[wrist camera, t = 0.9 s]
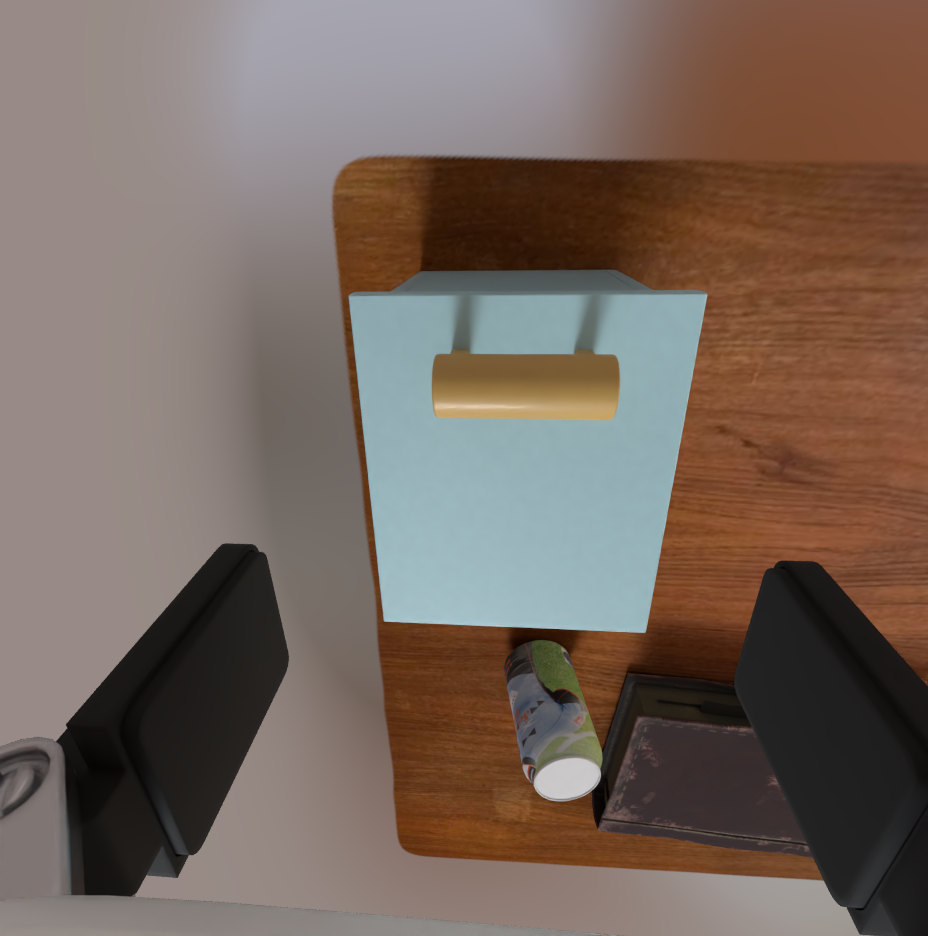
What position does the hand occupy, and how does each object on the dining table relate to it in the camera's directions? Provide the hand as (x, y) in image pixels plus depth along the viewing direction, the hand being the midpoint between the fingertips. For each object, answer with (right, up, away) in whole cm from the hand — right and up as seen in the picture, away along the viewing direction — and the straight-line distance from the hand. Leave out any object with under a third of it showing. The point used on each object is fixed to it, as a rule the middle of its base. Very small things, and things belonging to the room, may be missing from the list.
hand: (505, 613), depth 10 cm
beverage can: (+7, -15, +38) cm, 41 cm away
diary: (+26, -25, +42) cm, 55 cm away
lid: (+1, +2, +12) cm, 13 cm away
